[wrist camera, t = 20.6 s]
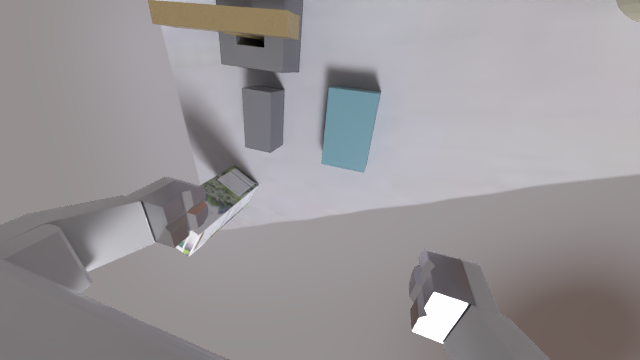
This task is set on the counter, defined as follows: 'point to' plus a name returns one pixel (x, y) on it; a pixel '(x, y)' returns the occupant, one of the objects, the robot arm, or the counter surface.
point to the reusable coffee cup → (630, 8)
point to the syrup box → (220, 205)
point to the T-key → (227, 19)
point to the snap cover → (349, 127)
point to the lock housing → (276, 56)
